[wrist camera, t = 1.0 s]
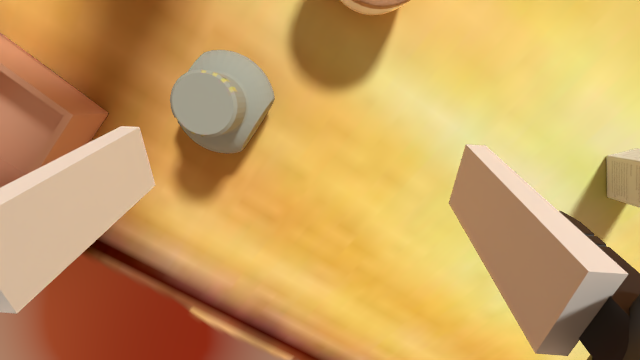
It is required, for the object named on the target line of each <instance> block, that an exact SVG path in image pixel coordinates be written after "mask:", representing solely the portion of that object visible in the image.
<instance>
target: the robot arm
mask: <svg viewBox="0 0 640 360" xmlns="http://www.w3.org/2000/svg"><path fill="white" fill-rule="evenodd" d="M154 186H155V182H154V178H153V175H152V171H151V167H150V163H149V160H148V156H147V152H146V149H145V145H144V141H143V138H142V134H141V130H140V127H130V126H120V127H118V128H116V129H115V130H113V131H111V132H109V133H107V134H105V135H103V136H101V137H99V138H97V139H95V140H93V141H91V142H89V143H87V144H85V145H83V146H81V147H79V148H77V149H75V150H73V151H71V152H69V153H67V154H65V155H64V156H62V157H60V158H58V159H56V160H54V161H52V162H50V163H48V164H46V165H44V166H42V167H40V168H38V169H36V170H34V171H32V172H30V173H28V174H26V175H24V176H22V177H20V178H18V179H16V180H14V181H13V182H11V183H9V184H7V185H5V186H3V187H1V188H0V312H4V313H18V312H19V311H20V310H21V309H22V308H23V307H24V306H25V305H27V304H28V303H29V302H30V301H31V300H32V299H33V298H34V297H35V296H36V295H37V294H39V293H40V292H41V291H42V290H43V289H44V288H45V287H46V286H47V285H48V284H49V283H50V282H52V280H54V279H55V278H56V277H57V276H58V275H59V274H60V273H61V272H62V271H63V270H64V269H66V268H67V267H68V265H70V264H71V263H72V262H73V261H74V260H75V259H76V258H77V257H79V256H80V255H81V254H82V253H83V252H84V251H85V250H86V249H87V248H88V247H89V246H90V245H92V244H93V243H94V242H95V241H96V240H97V239H98V238H99V237H100V236H101V235H102V234H103V233H104V232H106V231H107V230H108V229H109V228H110V227H111V226H112V225H113V224H114V223H115V222H116V221H117V220H119V219H120V218H121V217H122V216H123V215H124V214H125V213H126V212H127V211H128V210H129V209H130V208H132V207H133V206H134V205H135V204H136V203H137V202H138V201H139V200H140V199H141V198H142V197H143V196H144V195H146V194H147V193H148V192H149V191H150V190H151V189H152V188H153V187H154ZM449 204H450V206H451V208H452V210H453V211H454V213H455V215H456V216H457V218H458V220H459V222H460V223H461V225H462V227H463V229H464V230H465V232H466V234H467V236H468V237H469V239H470V241H471V243H472V244H473V246H474V248H475V249H476V251H477V253H478V255H479V256H480V258H481V260H482V262H483V263H484V265H485V267H486V269H487V270H488V272H489V274H490V276H491V277H492V279H493V281H494V282H495V284H496V286H497V288H498V289H499V291H500V293H501V295H502V296H503V298H504V300H505V302H506V303H507V305H508V307H509V309H510V310H511V312H512V314H513V315H514V317H515V319H516V321H517V322H518V324H519V326H520V328H521V329H522V331H523V333H524V335H525V336H526V338H527V340H528V342H529V343H530V345H531V347H532V348H533V350H534V352H535V353H537V354H550V355H563V356H568V355H569V353H570V352H571V351H572V349H573V348H574V347H575V345H576V344H577V343H578V341H579V340H580V341H581V342H582V344H583V345H584V346H585V348H586V349H587V351H588V352H589V353H590V356H589V357H588V359H587V360H640V273H639V272H637V271H636V270H635V269H634V268H633V267H632V266H631V265H629V264H628V263H627V262H626V261H625V260H624V259H622V258H621V257H620V256H619V255H618V254H617V253H615V252H614V251H613V250H612V249H611V248H610V247H606V244H605V243H604V242H603V241H602V240H600V239H599V238H598V237H596V236H594V233H592V232H591V231H590V230H589V229H588V228H587V227H585V226H584V225H583V224H582V223H581V222H579V221H578V220H576V219H574V218H572V217H571V216H569V215H567V214H565V213H564V212H562V211H558V210H557V209H556V208H555V207H553V206H552V205H551V204H550V203H549V202H548V201H547V200H546V199H545V198H543V197H542V196H541V195H540V194H539V193H538V192H537V191H536V190H535V189H533V188H532V187H531V186H530V185H529V184H528V183H527V182H526V181H525V180H523V179H522V178H521V177H520V176H519V175H518V174H517V173H516V172H515V171H513V170H512V169H511V168H510V167H509V166H508V165H507V164H506V163H505V162H503V161H502V160H501V159H500V158H499V157H498V156H497V155H496V154H495V153H493V152H492V151H491V150H490V149H489V148H488V147H487V146H486V145H467V144H466V146H465V149H464V153H463V156H462V159H461V163H460V166H459V170H458V173H457V177H456V180H455V183H454V187H453V190H452V194H451V197H450V201H449Z"/></svg>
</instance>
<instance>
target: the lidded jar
mask: <svg viewBox="0 0 640 360" xmlns="http://www.w3.org/2000/svg"><path fill="white" fill-rule="evenodd" d="M340 1H341V2H342V3H343V4H344V5H345V6H347V7H348V8H350V9H351V10H353V11H356V12H358V13H361V14H365V15H381V14H385V13H389V12H392V11H394V10H396V9H398V8H400V7H402V6H403V5H405V4H406V3H408V2H409V1H410V0H340Z"/></svg>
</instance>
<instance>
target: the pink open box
mask: <svg viewBox="0 0 640 360" xmlns="http://www.w3.org/2000/svg"><path fill="white" fill-rule="evenodd" d="M108 114H109V113H108V112H107V111H105V110H104V109H103V108H101V107H100V106H99V105H97V104H96V103H95V102H93V101H92V100H90V99H89V98H88V97H86V96H85V95H84V94H82V93H81V92H80V91H78V90H77V89H76V88H74V87H73V86H72V85H70V84H69V83H68V82H66V81H65V80H63V79H62V78H61V77H59V76H58V75H57V74H55V73H54V72H53V71H51V70H50V69H49V68H47V67H46V66H45V65H43V64H42V63H41V62H39V61H38V60H36V59H35V58H34V57H32V56H31V55H30V54H28V53H27V52H26V51H24V50H23V49H22V48H20V47H19V46H18V45H16V44H15V43H14V42H12V41H11V40H10V39H8V38H7V37H5V36H4V35H3V34H1V33H0V188H1V187H3V186H5V185H7V184H9V183H11V182H13V181H14V180H16V179H18V178H20V177H22V176H24V175H26V174H28V173H30V172H32V171H34V170H36V169H38V168H40V167H42V166H44V165H46V164H48V163H50V162H52V161H54V160H56V159H58V158H60V157H62V156H64V155H65V154H67V153H69V152H71V151H73V150H75V149H77V148H79V147H81V146H83V145H85V144H87V143H89V142H90V141H91V139H92V138H93V136H94V135H95V133H96V132H97V130H98V129H99V127H100V126H101V124H102V123H103V121H104V120H105V118H106V117H107V115H108Z"/></svg>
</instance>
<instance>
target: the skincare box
mask: <svg viewBox="0 0 640 360" xmlns="http://www.w3.org/2000/svg"><path fill="white" fill-rule="evenodd" d="M606 159H607V197H608V198H611V199H614V200H617V201H620V202H623V203H627V204H630V205H633V206H636V207H640V149H639V148H637V149H632V150H628V151H624V152H620V153H616V154H612V155H608V156H607V157H606Z"/></svg>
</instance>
